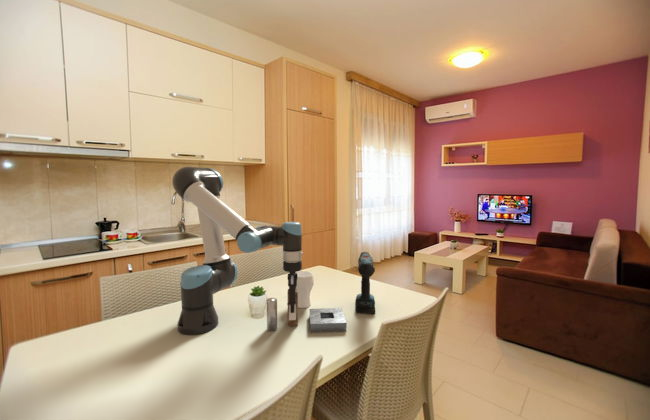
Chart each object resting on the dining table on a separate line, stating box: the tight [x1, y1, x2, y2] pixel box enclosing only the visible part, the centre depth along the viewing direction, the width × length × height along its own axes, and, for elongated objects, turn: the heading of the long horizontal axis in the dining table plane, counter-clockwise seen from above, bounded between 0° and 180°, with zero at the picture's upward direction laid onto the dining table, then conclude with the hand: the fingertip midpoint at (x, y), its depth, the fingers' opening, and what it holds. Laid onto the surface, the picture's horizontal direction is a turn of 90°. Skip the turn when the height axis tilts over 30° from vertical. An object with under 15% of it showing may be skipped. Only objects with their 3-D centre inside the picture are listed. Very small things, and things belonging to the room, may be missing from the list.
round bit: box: [266, 297, 278, 333], centre depth 117 cm, size 4×4×12 cm
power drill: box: [355, 251, 376, 315], centre depth 137 cm, size 9×23×25 cm, turn 174°
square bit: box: [287, 288, 299, 327], centre depth 121 cm, size 4×4×14 cm
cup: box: [296, 270, 315, 309], centre depth 140 cm, size 11×11×15 cm
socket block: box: [309, 307, 348, 334], centre depth 122 cm, size 14×14×4 cm
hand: (292, 314), depth 122 cm, fingers open, 9 cm apart
